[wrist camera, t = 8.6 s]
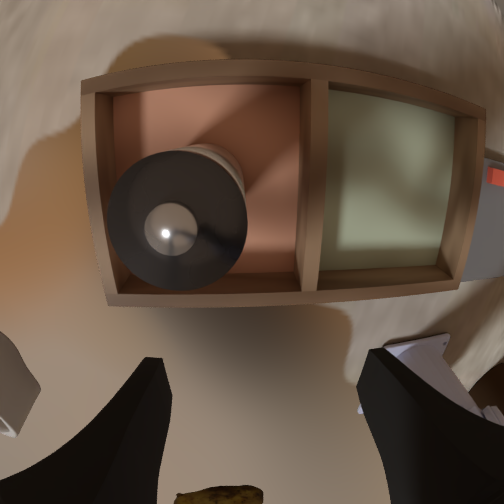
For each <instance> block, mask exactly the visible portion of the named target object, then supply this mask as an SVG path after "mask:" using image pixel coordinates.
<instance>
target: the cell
mask: <svg viewBox="0 0 504 504" xmlns="http://www.w3.org/2000/svg"><path fill="white" fill-rule="evenodd" d="M107 228H108V233H109V237H110V240H111V243H112V246H113V248H114V250H115V252H116V254H117V255H118V257H119V258H120V260H121V261H122V262H123V264H124V265H125V266H126V267H127V268H128V269H129V270H130V271H131V272H132V273H133V274H135V275H136V276H137V277H139V278H140V279H142V280H143V281H145V282H147V283H149V284H151V285H154V286H156V287H159V288H163V289H167V290H175V291H186V290H194V289H199V288H202V287H205V286H207V285H209V284H212V283H214V282H215V281H217V280H218V279H220V278H221V277H223V276H224V275H225V274H226V273H227V272H228V271H229V270H230V269H231V268H232V267H233V266H234V264H235V263H236V262H237V260H238V259H239V257H240V255H241V253H242V251H243V248H244V245H245V242H246V237H247V230H248V219H247V208H246V199H245V189H244V179H243V173H242V169H241V166H240V164H239V162H238V161H237V159H236V158H235V157H234V155H233V154H232V153H230V152H229V151H228V150H226V149H225V148H223V147H221V146H219V145H215V144H210V143H202V144H195V145H191V146H186V147H181V148H177V149H172V150H168V151H164V152H159V153H156V154H153V155H149V156H147V157H145V158H143V159H141V160H139V161H138V162H136V163H135V164H133V165H132V166H131V167H130V168H128V169H127V170H126V171H125V172H124V173H123V175H122V176H121V177H120V178H119V180H118V181H117V183H116V185H115V186H114V188H113V191H112V193H111V196H110V199H109V202H108V208H107Z"/></svg>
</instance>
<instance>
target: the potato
mask: <svg viewBox="0 0 504 504" xmlns="http://www.w3.org/2000/svg"><path fill="white" fill-rule="evenodd" d="M262 503H263V491H262V490H261V489H259V488H256V487H254V486H249V485H242V486H218V487H210V488H206V489H203V490H200V491H197V492H191V493H185V494H181V493H178V494H177V498H176V499H175V501H174V504H262Z"/></svg>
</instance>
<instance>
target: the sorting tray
mask: <svg viewBox="0 0 504 504" xmlns="http://www.w3.org/2000/svg"><path fill="white" fill-rule="evenodd" d="M485 133H486V109H484V108H482V107H480V106H477V105H475V104H472V103H470V102H468V101H465V100H463V99H460V98H457V97H455V96H452V95H449V94H447V93H444V92H441V91H438V90H435V89H432V88H429V87H426V86H422V85H419V84H416V83H412V82H409V81H405V80H401V79H397V78H393V77H389V76H385V75H381V74H376V73H372V72H367V71H362V70H357V69H351V68H345V67H339V66H332V65H325V64H317V63H307V62H297V61H283V60H262V59H224V60H203V61H189V62H180V63H179V62H178V63H169V64H162V65H154V66H147V67H141V68H135V69H130V70H124V71H120V72H115V73H110V74H105V75H101V76H97V77H93V78H89V79H85V80H82V81H81V142H82V159H83V171H84V181H85V189H86V198H87V205H88V212H89V219H90V225H91V231H92V237H93V242H94V247H95V252H96V257H97V262H98V267H99V271H100V275H101V279H102V284H103V288H104V292H105V296H106V299H107V303H108V306H123V307H124V306H125V307H179V308H182V307H184V308H191V307H193V308H195V307H251V306H276V305H277V306H278V305H298V304H316V303H331V302H345V301H357V300H369V299H380V298H390V297H400V296H409V295H418V294H426V293H434V292H442V291H449V290H457V289H458V288H459V285H460V281H461V278H462V275H463V271H464V268H465V264H466V260H467V257H468V253H469V249H470V245H471V240H472V236H473V231H474V226H475V221H476V216H477V211H478V205H479V198H480V192H481V184H482V176H483V166H484V153H485ZM202 143H210V144H215V145H219V146H221V147H223V148H225V149H226V150H228V151H229V152H230V153H232V154H233V155H234V157H235V158H236V159H237V161H238V162H239V164H240V166H241V169H242V173H243V179H244V189H245V199H246V208H247V219H248V230H247V237H246V242H245V245H244V248H243V251H242V253H241V255H240V257H239V259H238V260H237V262H236V263H235V264H234V266H233V267H232V268H231V269H230V270H229V271H228V272H227V273H226V274H225V275H224V276H223V277H221V278H220V279H218V280H217V281H215V282H214V283H212V284H209V285H207V286H205V287H202V288H199V289H194V290H186V291H175V290H167V289H163V288H159V287H156V286H154V285H151V284H149V283H147V282H145V281H143V280H142V279H140V278H139V277H137V276H136V275H135V274H133V273H132V272H131V271H130V270H129V269H128V268H127V267H126V266H125V265H124V264H123V262H122V261H121V260H120V258H119V257H118V255H117V254H116V252H115V250H114V248H113V246H112V243H111V240H110V237H109V233H108V228H107V208H108V202H109V199H110V196H111V193H112V191H113V188H114V186H115V185H116V183H117V181H118V180H119V178H120V177H121V176H122V175H123V173H124V172H125V171H126V170H127V169H128V168H130V167H131V166H132V165H133V164H135V163H136V162H138V161H139V160H141V159H143V158H145V157H147V156H149V155H153V154H156V153H159V152H164V151H168V150H172V149H177V148H181V147H186V146H191V145H195V144H202Z"/></svg>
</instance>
